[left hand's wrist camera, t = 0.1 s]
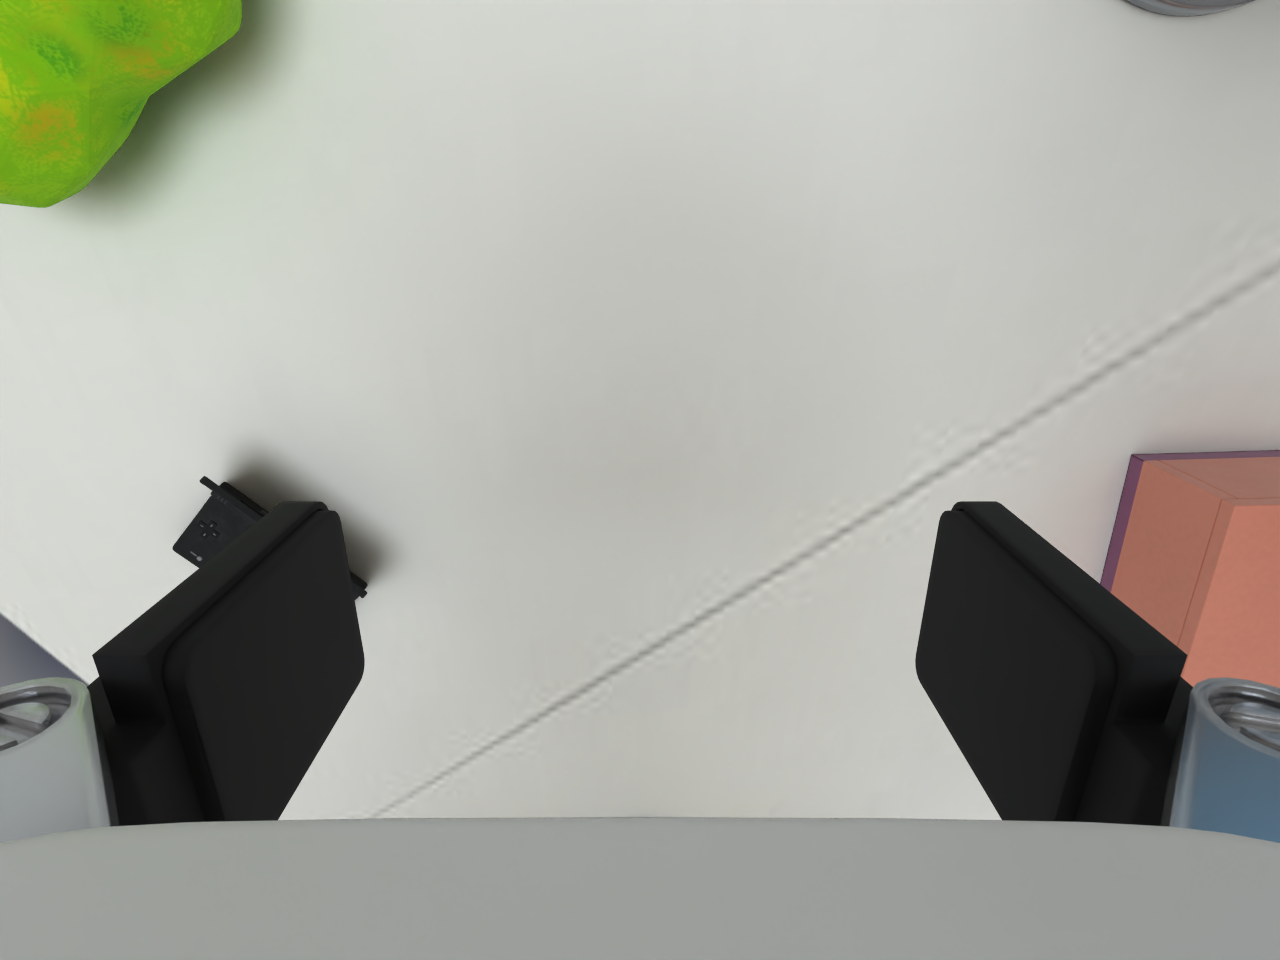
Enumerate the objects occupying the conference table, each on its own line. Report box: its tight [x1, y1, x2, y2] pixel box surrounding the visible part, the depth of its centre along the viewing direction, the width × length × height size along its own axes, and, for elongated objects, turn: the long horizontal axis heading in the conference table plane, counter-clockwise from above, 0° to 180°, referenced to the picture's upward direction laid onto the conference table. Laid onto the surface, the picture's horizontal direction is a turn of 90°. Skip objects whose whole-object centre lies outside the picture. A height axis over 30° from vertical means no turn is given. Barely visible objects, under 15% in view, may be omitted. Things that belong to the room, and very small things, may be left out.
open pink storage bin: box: [1100, 450, 1280, 688], centre depth 42 cm, size 17×10×8 cm, turn 2°
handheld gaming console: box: [173, 476, 367, 601], centre depth 43 cm, size 12×7×10 cm
